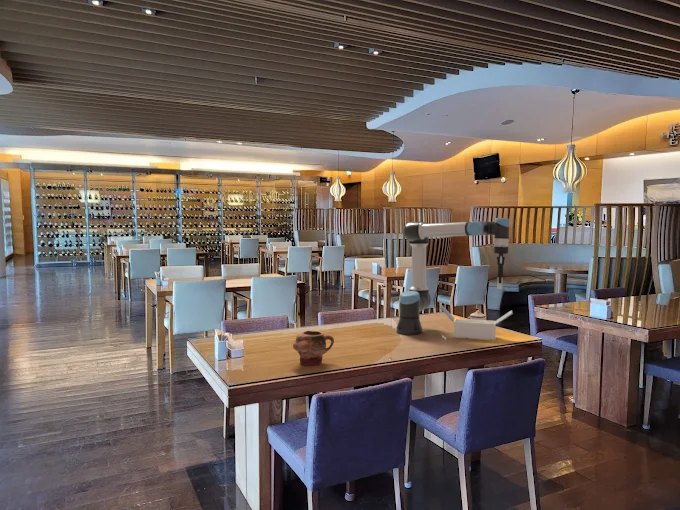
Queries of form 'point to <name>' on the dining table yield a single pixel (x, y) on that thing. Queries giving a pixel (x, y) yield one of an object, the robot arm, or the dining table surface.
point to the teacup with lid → (477, 316)
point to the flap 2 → (504, 317)
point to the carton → (475, 329)
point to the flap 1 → (447, 313)
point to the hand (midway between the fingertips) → (499, 288)
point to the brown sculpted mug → (312, 347)
